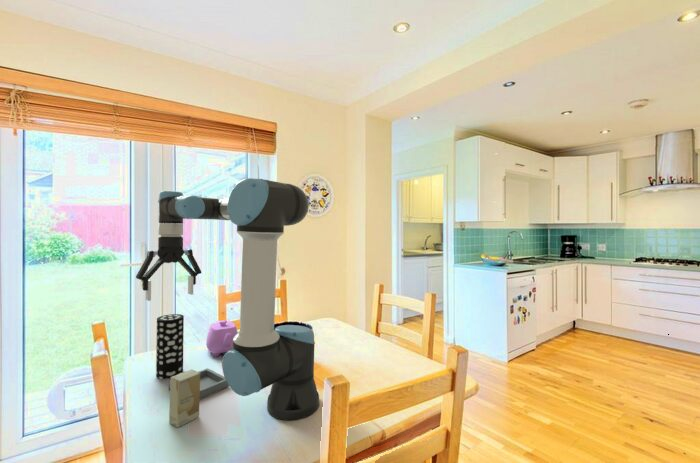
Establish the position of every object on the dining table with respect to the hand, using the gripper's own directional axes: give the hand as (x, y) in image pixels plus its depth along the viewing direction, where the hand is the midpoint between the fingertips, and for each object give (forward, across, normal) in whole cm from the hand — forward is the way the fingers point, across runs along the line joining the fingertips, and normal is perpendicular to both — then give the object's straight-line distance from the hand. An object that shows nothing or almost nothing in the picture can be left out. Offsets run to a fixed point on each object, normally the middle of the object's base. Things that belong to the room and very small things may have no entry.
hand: (170, 296), depth 111 cm
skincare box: (+28, +7, +30) cm, 42 cm away
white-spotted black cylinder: (+28, -1, -2) cm, 28 cm away
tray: (+28, -3, +16) cm, 32 cm away
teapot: (+28, -23, -8) cm, 37 cm away
